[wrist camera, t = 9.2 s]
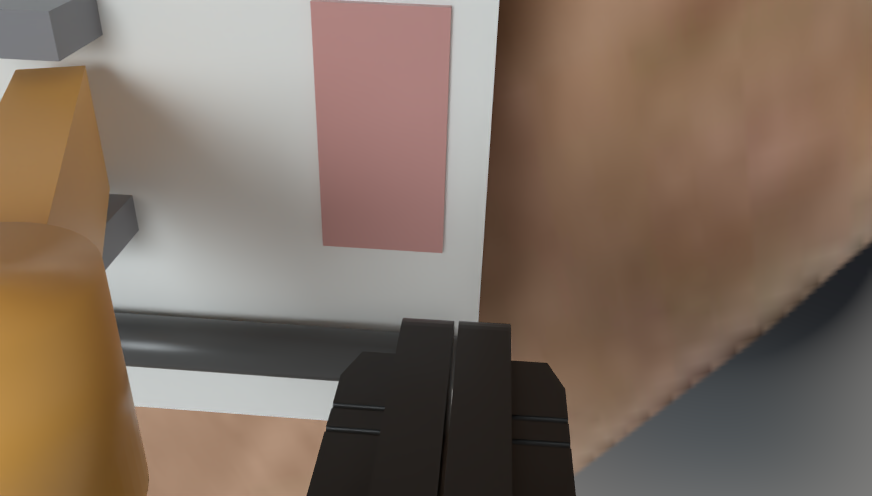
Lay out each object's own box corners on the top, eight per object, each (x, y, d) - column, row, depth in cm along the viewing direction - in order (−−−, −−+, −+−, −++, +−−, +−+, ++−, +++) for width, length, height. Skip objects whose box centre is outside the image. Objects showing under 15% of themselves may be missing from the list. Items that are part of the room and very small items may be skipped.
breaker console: (518, -308, 19) (524, -363, 12) (477, 312, 28) (468, 483, 21) (-276, -327, 20) (-688, -388, 13) (-68, 276, 29) (-247, 427, 22)
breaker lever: (126, 49, 18) (95, 345, 8) (151, 195, 19) (148, 569, 10) (-35, 58, 17) (-265, 397, 8) (7, 210, 19) (-137, 632, 9)
